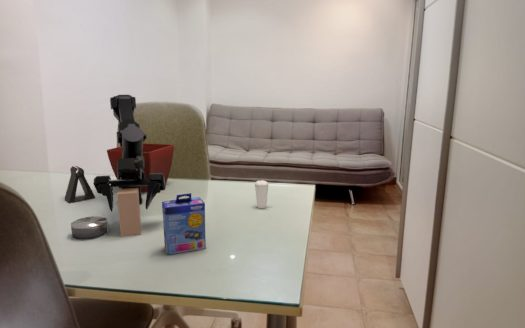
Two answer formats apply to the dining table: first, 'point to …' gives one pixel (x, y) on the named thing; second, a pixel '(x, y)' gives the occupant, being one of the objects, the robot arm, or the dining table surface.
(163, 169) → the plant pot
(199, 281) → the dining table surface
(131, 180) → the robot arm
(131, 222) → the tan rectangular block
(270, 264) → the dining table surface
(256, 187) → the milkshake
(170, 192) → the dining table surface
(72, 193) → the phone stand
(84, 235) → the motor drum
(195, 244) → the ink cartridge box
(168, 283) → the dining table surface
